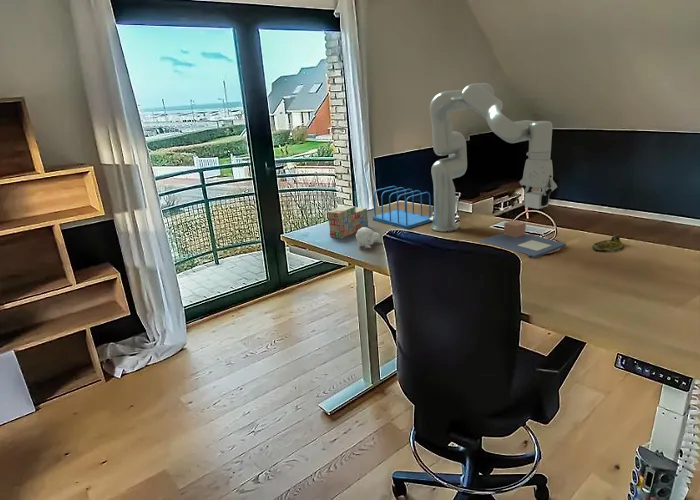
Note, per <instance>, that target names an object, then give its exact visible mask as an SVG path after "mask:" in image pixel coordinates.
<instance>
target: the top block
mask: <svg viewBox="0 0 700 500" xmlns="http://www.w3.org/2000/svg"><path fill="white" fill-rule="evenodd" d="M503 226H504V227H503V233H504V235H508V236H511V237H515V238H516V237H519V236H522V235H525V234H526V226H527V224H526V222H524V221H520V220H515V219H514V220H510V221H508V222H504V225H503Z"/></svg>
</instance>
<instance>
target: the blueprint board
mask: <svg viewBox="0 0 700 500" xmlns="http://www.w3.org/2000/svg"><path fill="white" fill-rule="evenodd" d="M478 241H479V242H483V243H486V244H490V245H493V246H496V247H501V248H504V249H507V250H511V251H514V252H518V253H522V254H525V255H529V256H528V258H531V259H536V258H538V257H541V256H544V255H547V254H549V253H552V252H554V251H558V250H560V249H562V248H564V247H566V246H567V243H565V242H562V241H557V240H553V239H548V238H544V237H541V238H540V236H536V235H534V234H533V235H532V234H529V233H525V235H522V236H519V237H516V238H515V237H511V236H508V235H504V232H502V233H498V234H495V235H492V236H489V237H485V238H482V239H479V240H478Z"/></svg>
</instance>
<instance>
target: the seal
mask: <svg viewBox="0 0 700 500" xmlns="http://www.w3.org/2000/svg"><path fill="white" fill-rule="evenodd" d="M622 249H624V244H623V243H622V241H621V238H620V233H619V234H618V233H615V234H614V235H612V237H611V239H607V240H605V239H604V240H601V241H598V242H595V243H593V244H592V250H593V251H594V252H596V253H597V252H600V253H615V252H618V251H621V250H622Z"/></svg>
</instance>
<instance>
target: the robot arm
mask: <svg viewBox="0 0 700 500" xmlns="http://www.w3.org/2000/svg"><path fill="white" fill-rule="evenodd" d="M495 93H496V92H495V89H494V87H493V86H492V85H491V84H490V83H488V82H475V83H470V84H468V85H466V86H465V87H464V88H463V89H457V90H456V89H453V90H445V91H441V92H439V93H437V94H436V95H435V96H434V97H432V98H431V99H432V100H431V102H430V104H429V115H430V120H431V132H432V133H431V135H432V148H433V152H434V153H435V155H436V156H440V157H443V156H447V155H448V157H446V158H440V159H438V160H436V161H435V162H434V163H433V164H432V166H431V170H430V171H431V178H432V184H433V185H432V186H433V215H431V218H430V219H429V220H430V221H431V222H432V224H431V225H430V229H431V230H432V231H435V232H441V233H442V232H443V233H445V232H447V231H448V232H453V230H454V231H457V230H458V229H459V223H457V222H456V187H455V183H454V181H453V180H454V179H456V178H460V177H462V176H464V175H465V173H466V171H467V169H468V156H467V154H468V152H467V150H468V149H467V141H466V138H465V136H464V135H463V134H462V132H459V131H453V123H452V119H451V117H450V115H449V113H451V112H459V111H460V112H461V111H466V110H469V109H472V110H473V111H475V112H476V113H478V114H479V115H480V116H481V117H483V118H484V119H485V120H486V122H487V125H488V127H489V128H490V130H491V131H492V132H493V133H494V134H495V135H496V136H497V137H499V138H500V139H501V140H503V141H505V142H506V143H509V144H517V143H521V142H526V141H528V151H527V152H526V156H528V158H527V159H526V160H525V163H524V168H523V175H522V178H521V179H520V180H519V184H520V186H521V187H522V188H523V190H524V194H526V193H529V192H533V191H532V190H533V188H535V189H541V192H543V195H542V199H541V206H545V205H547V204H548V205H549V203H548V198H549V199H550V195H551V193H552V192H554V190H556V189H557V188H558V185H557V183H556V182H555V181H554V179H553V178H554V170H553V169H554V168H553V160H552V159H551V153H552V141H553V140H552V138H553V137H552V136H553V122H551V121H549V120H538V121H537V120H530V119H524V120H517V121H516V120H515V121H513V120H511V119H510V118H509V117H507V116H505V115H504V114H503V113H502V110H503V106H504V104H503V102H502V100H501V99H499V97H496V96H495Z"/></svg>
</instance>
